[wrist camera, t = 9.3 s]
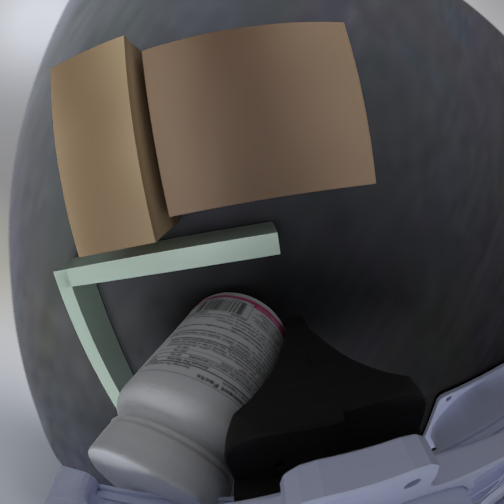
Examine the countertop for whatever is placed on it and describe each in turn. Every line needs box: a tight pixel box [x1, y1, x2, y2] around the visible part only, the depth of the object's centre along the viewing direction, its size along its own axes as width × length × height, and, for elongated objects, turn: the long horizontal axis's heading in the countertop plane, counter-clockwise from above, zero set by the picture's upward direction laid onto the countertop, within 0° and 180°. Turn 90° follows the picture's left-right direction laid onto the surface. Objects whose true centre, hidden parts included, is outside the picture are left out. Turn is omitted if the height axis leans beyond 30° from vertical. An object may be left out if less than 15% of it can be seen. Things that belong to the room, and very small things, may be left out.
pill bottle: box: [88, 292, 286, 504], centre depth 9 cm, size 5×5×8 cm
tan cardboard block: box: [142, 22, 376, 217], centre depth 10 cm, size 7×6×3 cm
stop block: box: [51, 36, 180, 257], centre depth 9 cm, size 3×7×4 cm, turn 9°
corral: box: [54, 221, 280, 409], centre depth 13 cm, size 10×10×2 cm
